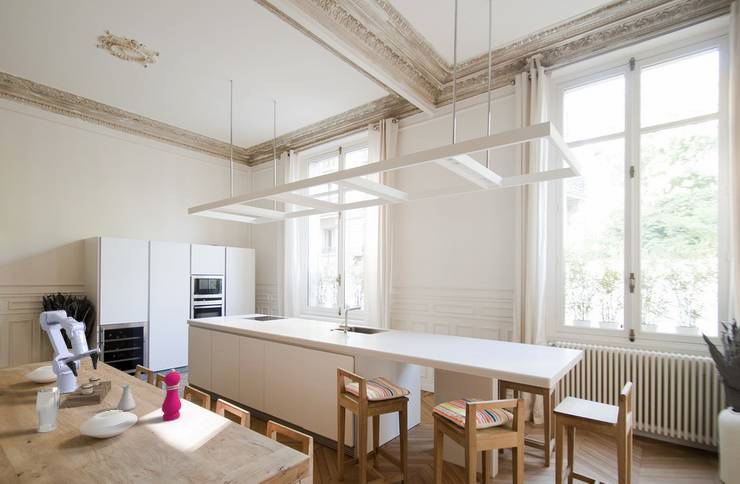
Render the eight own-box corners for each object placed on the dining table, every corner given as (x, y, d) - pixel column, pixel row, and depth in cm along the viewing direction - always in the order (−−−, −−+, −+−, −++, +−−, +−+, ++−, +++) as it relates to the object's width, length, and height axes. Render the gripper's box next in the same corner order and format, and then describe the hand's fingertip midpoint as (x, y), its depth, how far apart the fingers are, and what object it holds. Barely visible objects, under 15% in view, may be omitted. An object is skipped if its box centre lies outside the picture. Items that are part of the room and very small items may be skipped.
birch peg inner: (90, 385, 186) (90, 377, 186) (100, 384, 188) (101, 376, 188) (87, 388, 182) (87, 380, 182) (98, 386, 184) (98, 378, 184)
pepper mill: (172, 422, 152) (174, 371, 153) (157, 420, 154) (158, 370, 155) (185, 415, 159) (186, 366, 160) (170, 413, 161) (171, 366, 162)
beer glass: (37, 435, 141) (39, 394, 142) (32, 430, 145) (34, 390, 146) (61, 428, 146) (62, 389, 147) (55, 423, 151) (57, 385, 151)
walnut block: (82, 392, 187) (82, 384, 187) (111, 389, 192) (111, 381, 192) (67, 408, 167) (67, 398, 167) (99, 404, 172) (100, 395, 172)
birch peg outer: (82, 393, 175) (83, 384, 175) (94, 391, 177) (94, 383, 177) (80, 396, 171) (80, 387, 171) (91, 394, 173) (92, 386, 173)
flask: (139, 405, 170) (140, 383, 170) (127, 412, 162) (128, 388, 163) (124, 405, 170) (125, 382, 171) (112, 411, 163) (113, 388, 164)
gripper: (58, 350, 177) (64, 378, 173) (94, 338, 183) (101, 364, 179) (64, 353, 183) (69, 380, 179) (99, 341, 189) (105, 367, 185)
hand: (85, 372), depth 179 cm, fingers open, 7 cm apart
